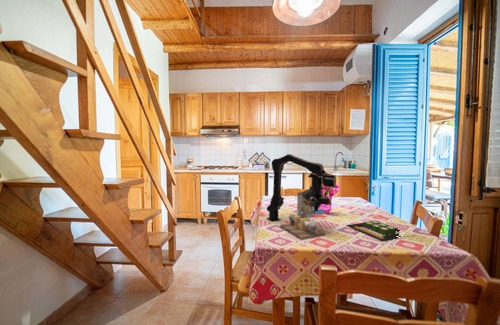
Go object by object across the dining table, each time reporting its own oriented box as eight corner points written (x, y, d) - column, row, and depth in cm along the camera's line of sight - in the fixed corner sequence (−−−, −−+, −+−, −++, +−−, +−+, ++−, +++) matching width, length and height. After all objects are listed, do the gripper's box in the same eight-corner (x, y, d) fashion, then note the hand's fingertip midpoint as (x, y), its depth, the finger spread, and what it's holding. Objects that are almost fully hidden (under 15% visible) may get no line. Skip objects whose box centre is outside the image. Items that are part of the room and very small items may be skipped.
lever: (300, 216, 126) (301, 212, 126) (298, 214, 129) (298, 210, 129) (323, 214, 130) (324, 210, 130) (320, 212, 133) (320, 209, 133)
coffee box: (308, 214, 161) (309, 191, 160) (313, 216, 155) (314, 193, 154) (296, 215, 159) (297, 192, 158) (301, 217, 153) (301, 194, 152)
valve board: (279, 227, 134) (280, 211, 134) (301, 223, 141) (302, 208, 140) (301, 240, 116) (301, 222, 116) (325, 235, 123) (325, 218, 122)
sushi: (345, 226, 138) (345, 220, 138) (375, 222, 147) (376, 216, 147) (382, 243, 115) (383, 235, 115) (416, 236, 124) (416, 229, 124)
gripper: (296, 182, 139) (296, 207, 140) (311, 189, 121) (310, 218, 122) (313, 182, 141) (312, 206, 143) (330, 188, 123) (329, 216, 125)
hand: (315, 211), depth 133 cm, fingers closed
